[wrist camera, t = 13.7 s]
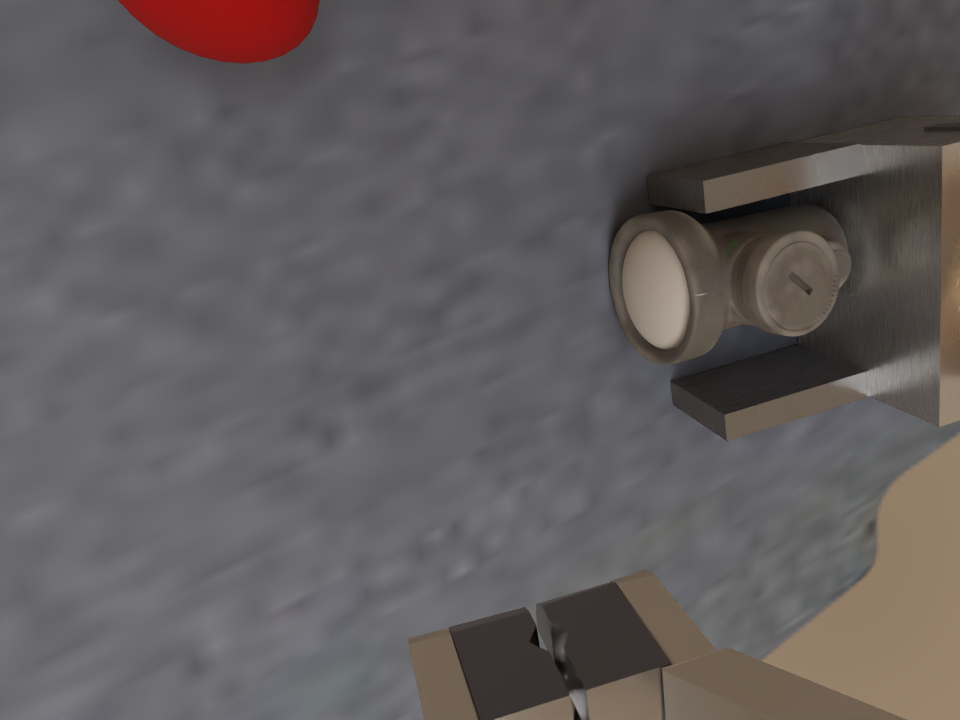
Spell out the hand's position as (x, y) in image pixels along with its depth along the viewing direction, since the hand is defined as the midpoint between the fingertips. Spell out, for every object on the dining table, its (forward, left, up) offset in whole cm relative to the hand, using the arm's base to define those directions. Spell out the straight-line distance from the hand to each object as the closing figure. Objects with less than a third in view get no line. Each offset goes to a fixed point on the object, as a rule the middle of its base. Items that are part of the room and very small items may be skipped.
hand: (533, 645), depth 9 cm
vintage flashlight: (+5, +21, -32) cm, 39 cm away
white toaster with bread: (+7, +27, -32) cm, 42 cm away
